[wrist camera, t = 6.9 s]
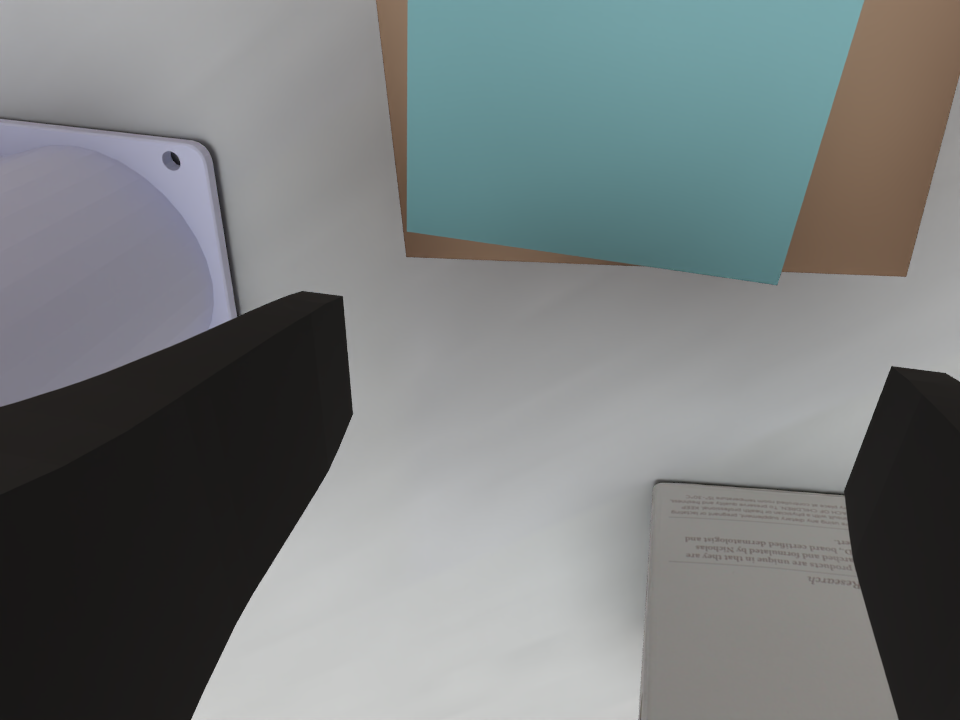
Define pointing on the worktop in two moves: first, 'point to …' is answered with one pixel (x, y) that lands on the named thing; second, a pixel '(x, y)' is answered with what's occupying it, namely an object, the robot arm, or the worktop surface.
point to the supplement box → (756, 610)
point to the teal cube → (622, 125)
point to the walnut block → (841, 156)
